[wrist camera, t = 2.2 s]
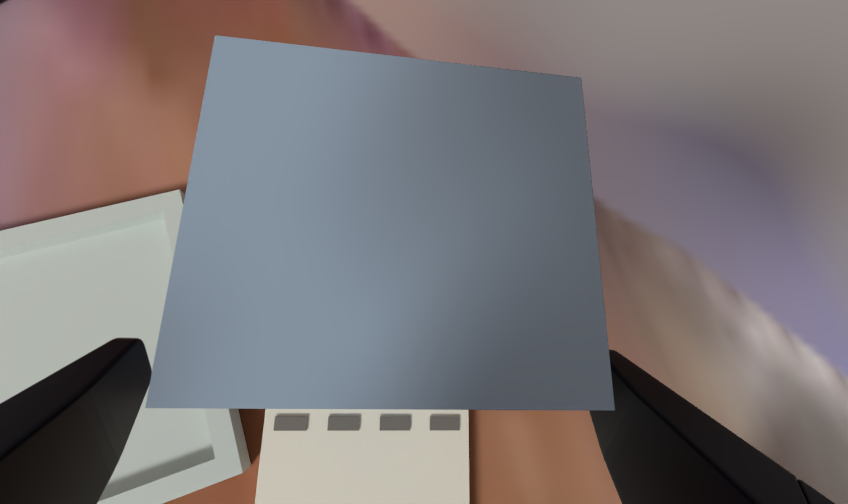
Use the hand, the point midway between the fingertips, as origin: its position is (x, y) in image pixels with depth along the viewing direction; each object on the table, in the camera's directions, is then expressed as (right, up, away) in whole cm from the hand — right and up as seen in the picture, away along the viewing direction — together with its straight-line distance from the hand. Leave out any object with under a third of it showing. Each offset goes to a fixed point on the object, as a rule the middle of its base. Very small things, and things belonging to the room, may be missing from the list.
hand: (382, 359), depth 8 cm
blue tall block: (-1, -1, +10) cm, 10 cm away
